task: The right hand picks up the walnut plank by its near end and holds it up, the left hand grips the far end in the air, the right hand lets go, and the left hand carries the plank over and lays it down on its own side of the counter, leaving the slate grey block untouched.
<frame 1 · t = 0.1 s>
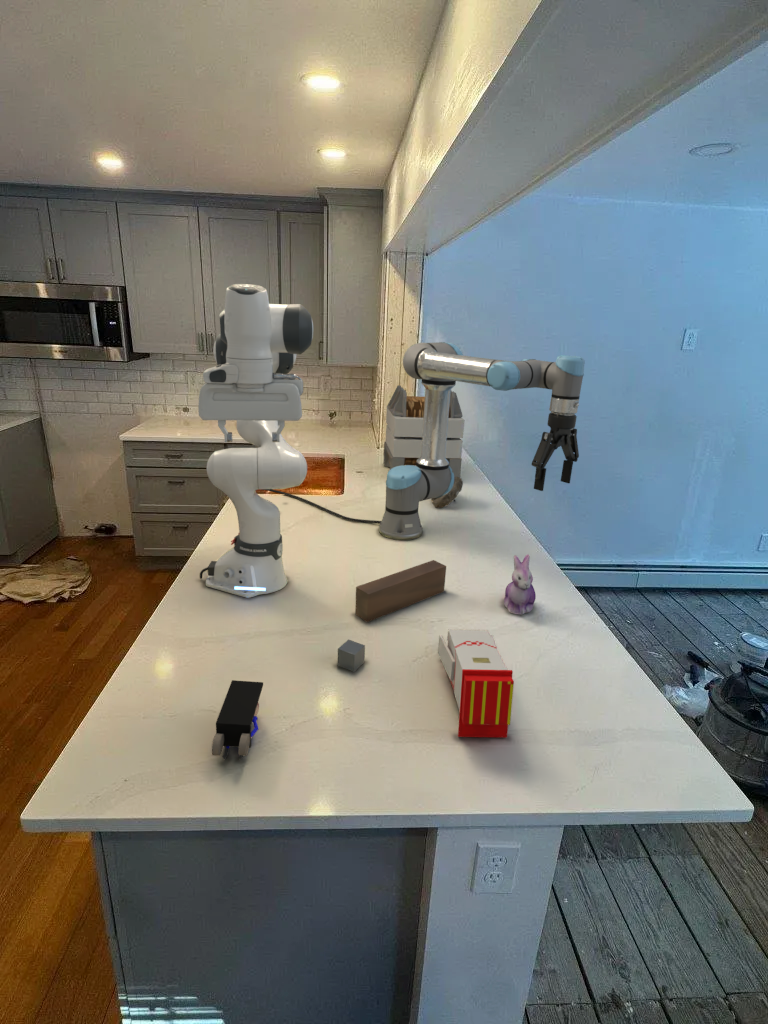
left hand: (252, 441, 116), 48 cm above the counter, fingers open, 8 cm apart
right hand: (552, 485, 166), 28 cm above the counter, fingers open, 13 cm apart
toy: (469, 691, 119), on the counter
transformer: (419, 473, 275), on the counter
walnut plank: (401, 602, 153), on the counter
fossil: (445, 501, 236), on the counter
slate block: (351, 663, 126), on the counter
black wheeled block: (240, 738, 103), on the counter
figurine: (519, 607, 154), on the counter
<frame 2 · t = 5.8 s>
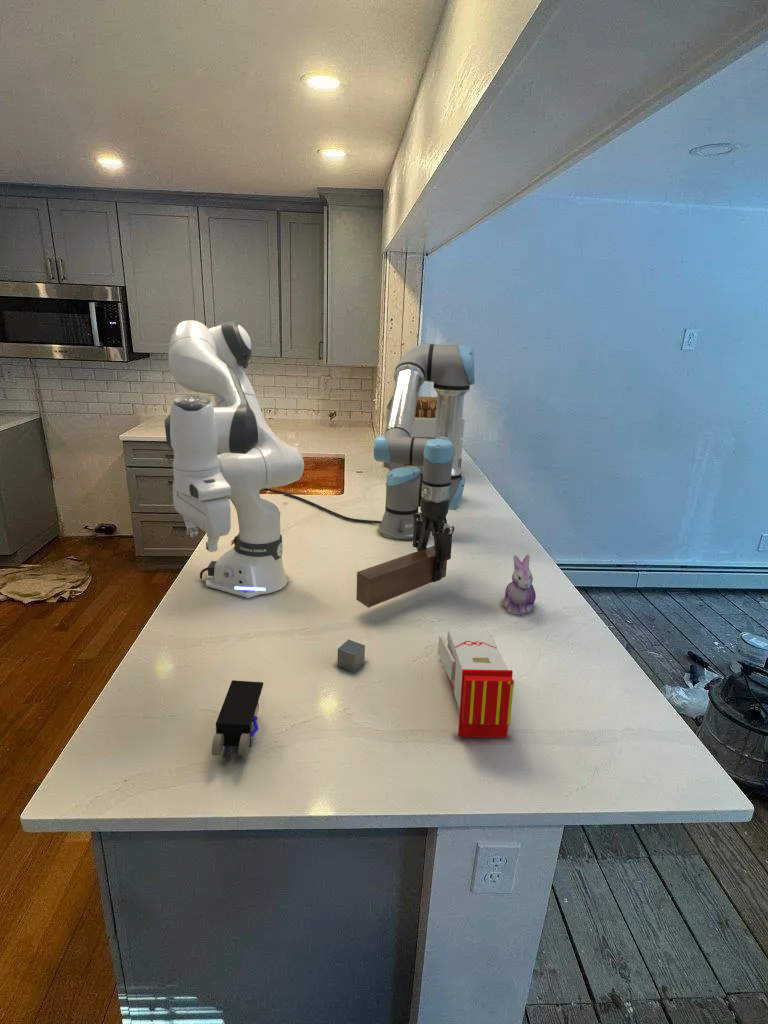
left hand: (202, 543, 118), 27 cm above the counter, fingers open, 8 cm apart
right hand: (429, 576, 158), 5 cm above the counter, fingers closed on walnut plank, 5 cm apart
walnut plank: (403, 587, 152), point 4 cm above the counter, touching right hand
everything else where it was.
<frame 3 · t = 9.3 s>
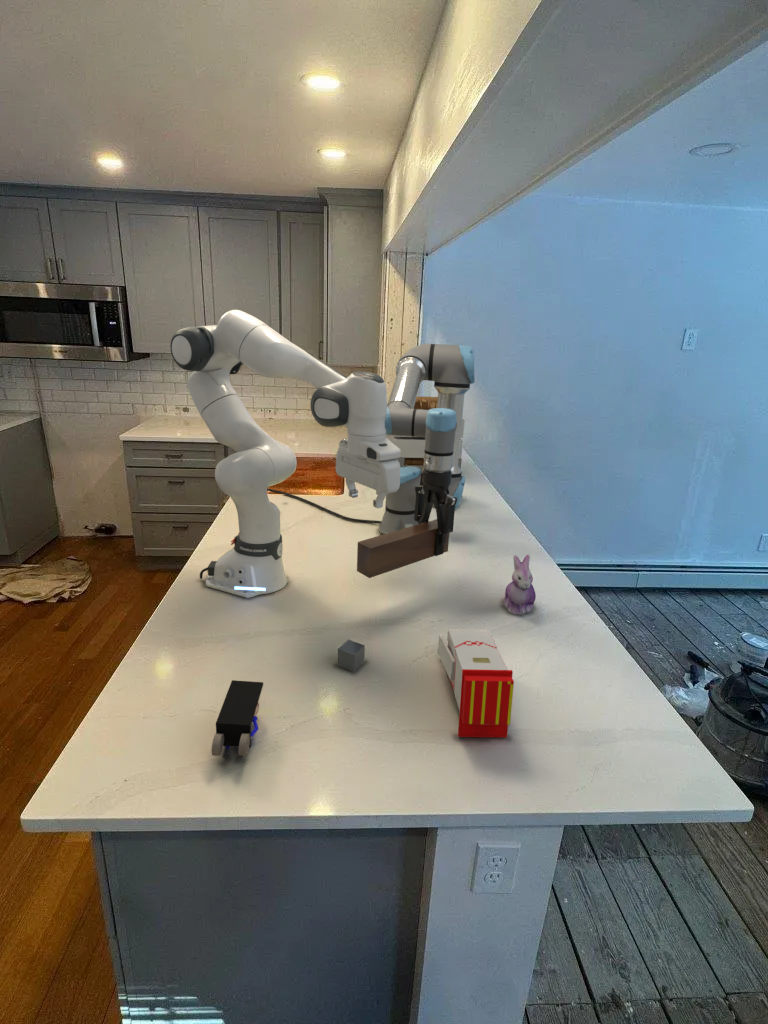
left hand: (365, 502, 135), 31 cm above the counter, fingers open, 8 cm apart
right hand: (431, 550, 155), 13 cm above the counter, fingers closed on walnut plank, 5 cm apart
walnut plank: (404, 560, 149), point 12 cm above the counter, touching right hand
everything else where it was.
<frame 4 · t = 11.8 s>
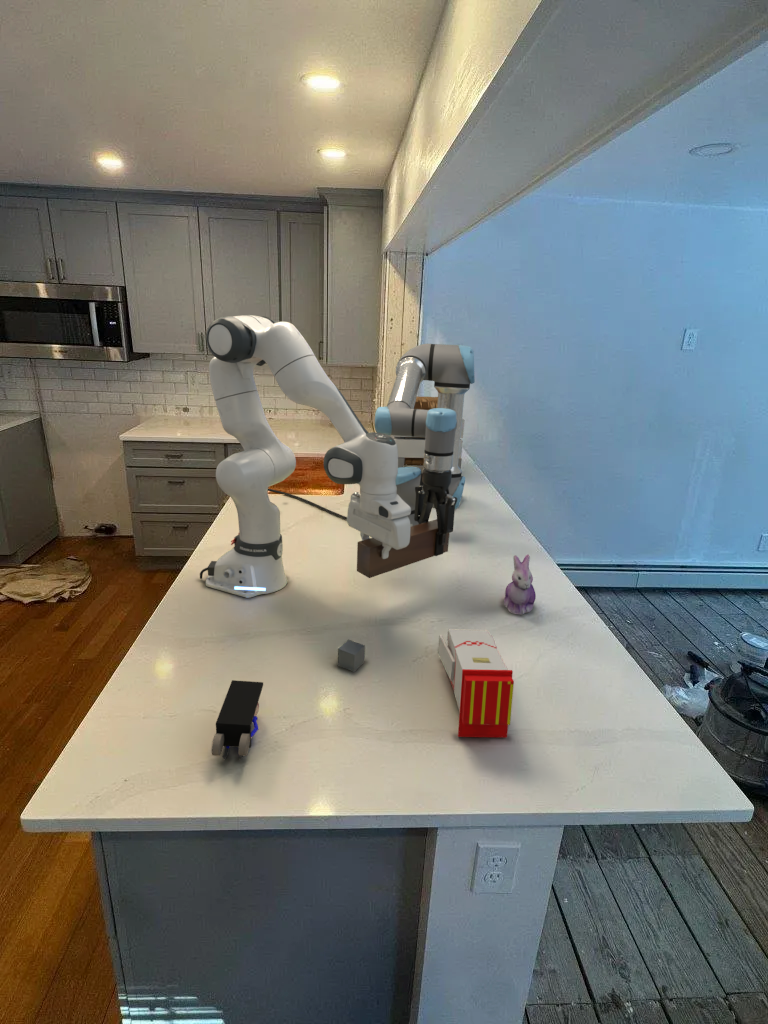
left hand: (375, 553, 141), 17 cm above the counter, fingers closed on walnut plank, 5 cm apart
right hand: (431, 550, 155), 13 cm above the counter, fingers closed on walnut plank, 5 cm apart
walnut plank: (404, 560, 149), point 12 cm above the counter, touching right hand, left hand
everything else where it was.
when the right hand's fingers open (13 cm above the counter, at t = 12.9 s): walnut plank stays where it is, held by the left hand.
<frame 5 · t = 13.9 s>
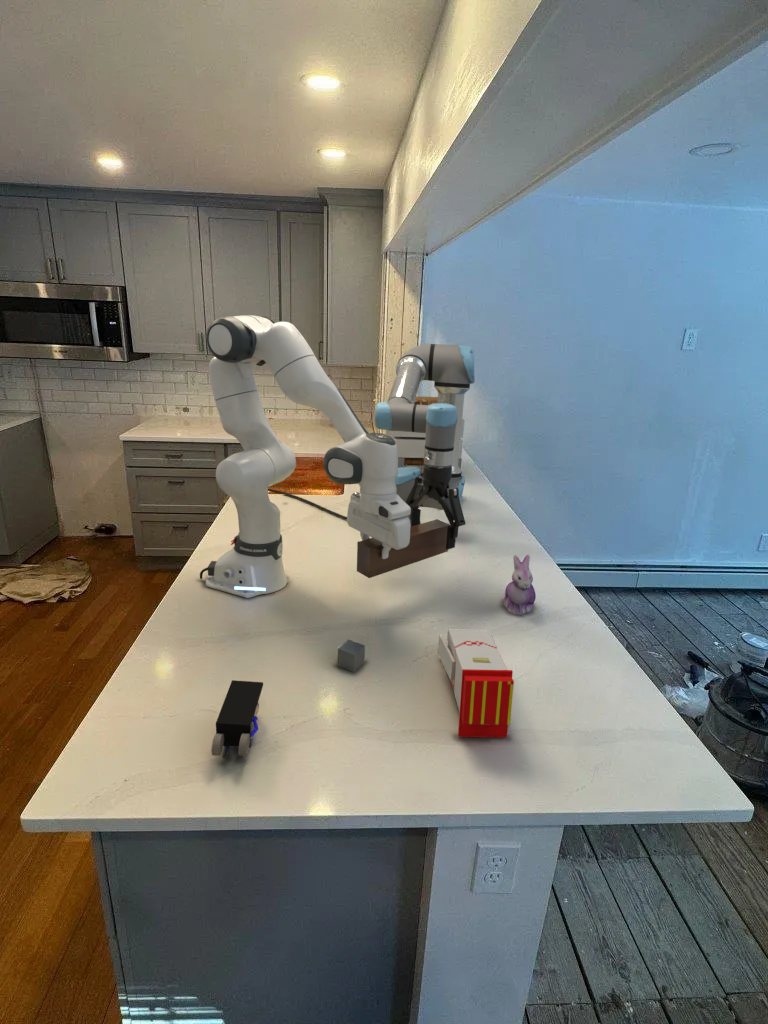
left hand: (375, 553, 141), 17 cm above the counter, fingers closed on walnut plank, 5 cm apart
right hand: (432, 539, 154), 16 cm above the counter, fingers open, 13 cm apart
walnut plank: (404, 560, 149), point 12 cm above the counter, touching left hand
everything else where it was.
when the left hand's fingers open (6 cm above the counter, at t = 21.9 s): walnut plank stays where it is, on the counter.
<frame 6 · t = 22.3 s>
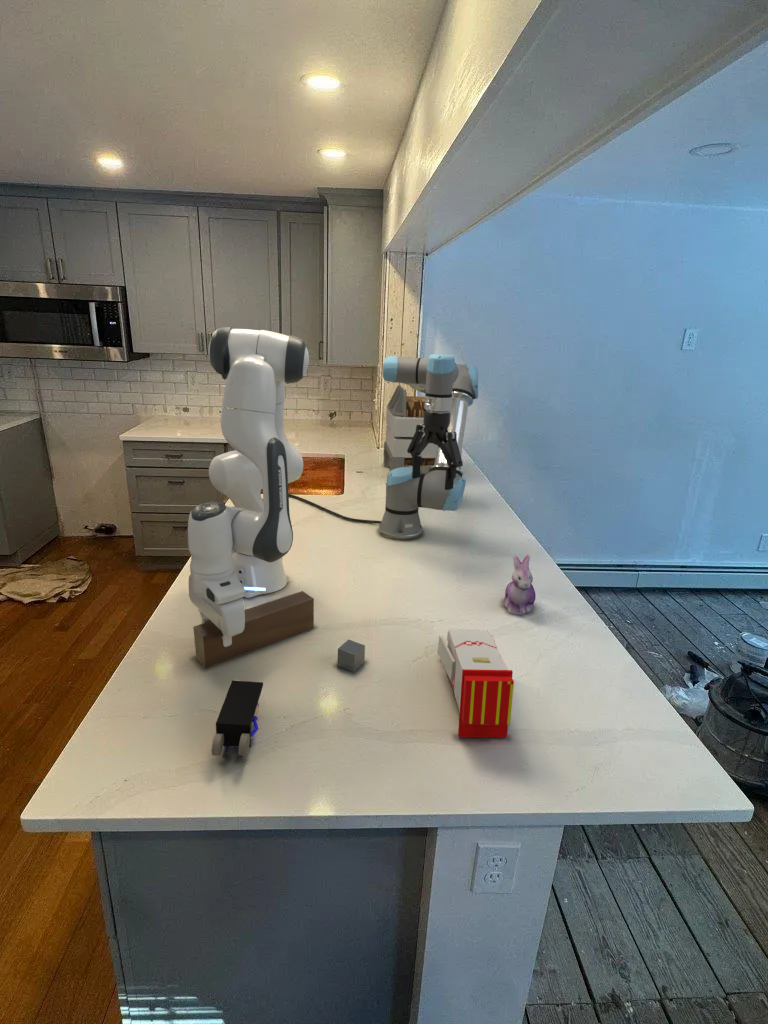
left hand: (216, 635, 125), 6 cm above the counter, fingers open, 8 cm apart
right hand: (432, 483, 167), 27 cm above the counter, fingers open, 13 cm apart
walnut plank: (257, 641, 133), on the counter
everything else where it was.
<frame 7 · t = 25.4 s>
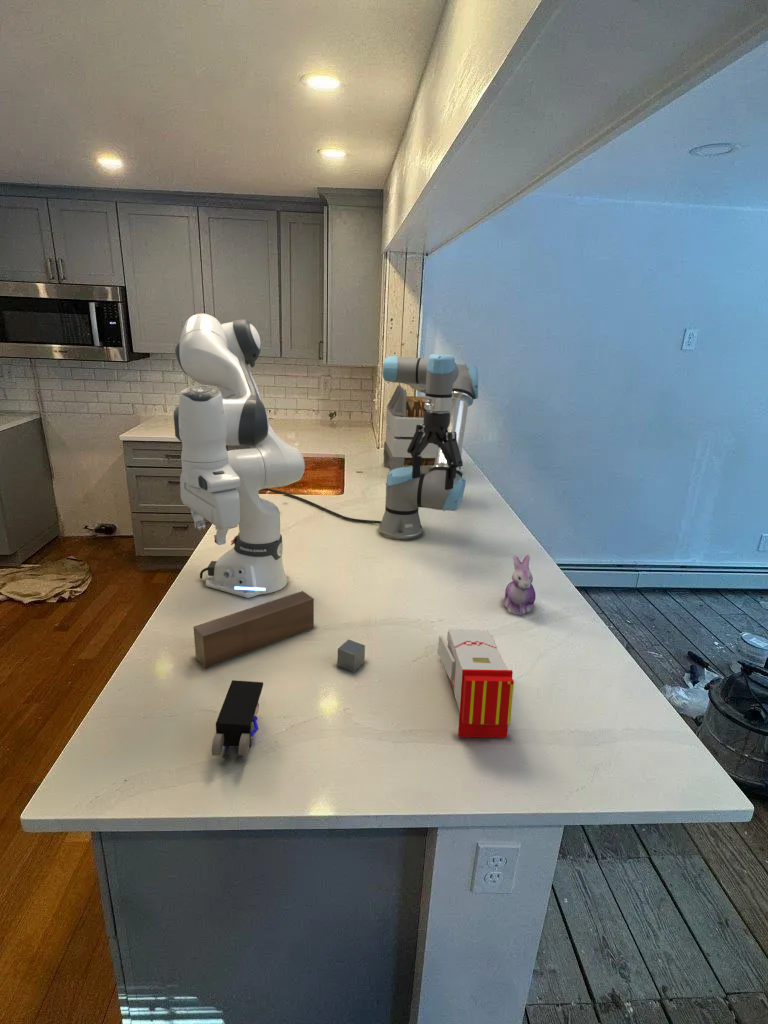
left hand: (210, 536, 117), 29 cm above the counter, fingers open, 8 cm apart
right hand: (432, 483, 167), 27 cm above the counter, fingers open, 13 cm apart
nothing on the counter moved.
at the end: walnut plank inside the target area (0.1 cm from its centre), on the counter; both hands held the walnut plank at the same time; the left hand is holding nothing; the right hand is holding nothing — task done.
